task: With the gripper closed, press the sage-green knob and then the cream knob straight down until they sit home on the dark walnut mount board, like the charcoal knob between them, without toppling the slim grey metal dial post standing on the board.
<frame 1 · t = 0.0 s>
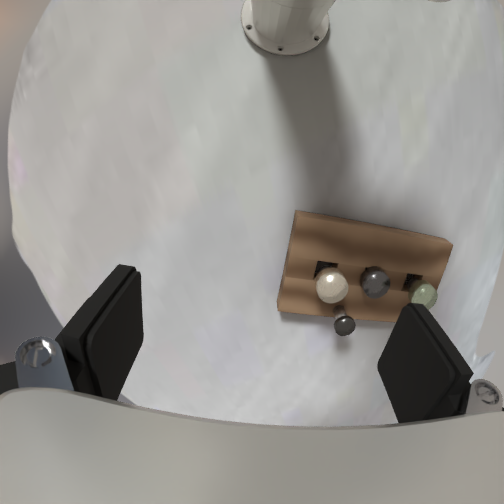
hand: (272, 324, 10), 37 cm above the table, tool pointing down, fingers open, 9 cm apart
knob sage: (419, 291, 45), point 6 cm above the table, slide at 0.0 cm
knob charcoal: (372, 278, 47), point 3 cm above the table, slide at -2.8 cm
mount: (366, 269, 50), on the table
knob cream: (329, 280, 44), point 6 cm above the table, slide at 0.0 cm
dial post: (338, 309, 49), point 3 cm above the table, touching mount
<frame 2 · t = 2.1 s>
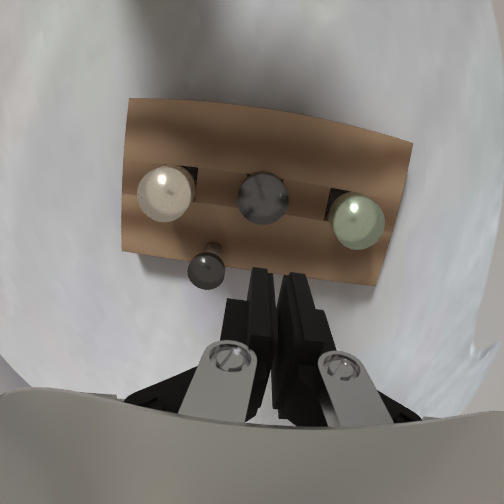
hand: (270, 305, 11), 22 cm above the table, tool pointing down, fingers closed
knob sage: (351, 215, 27), point 6 cm above the table, slide at 0.0 cm
knob charcoal: (262, 193, 29), point 3 cm above the table, slide at -2.8 cm
mount: (262, 187, 32), on the table
knob cream: (171, 188, 26), point 6 cm above the table, slide at 0.0 cm
dial post: (213, 251, 31), point 3 cm above the table, touching mount
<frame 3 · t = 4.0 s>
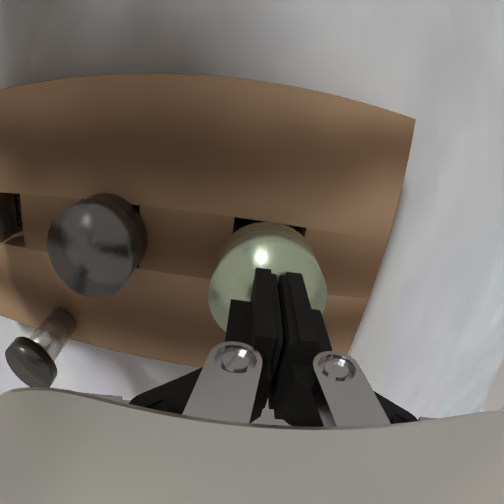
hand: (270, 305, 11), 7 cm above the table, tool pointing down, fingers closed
knob sage: (266, 268, 14), point 4 cm above the table, slide at -1.5 cm, touching gripper
knob charcoal: (108, 234, 15), point 3 cm above the table, slide at -2.8 cm
mount: (130, 216, 17), on the table
dial post: (64, 320, 17), point 3 cm above the table, touching mount
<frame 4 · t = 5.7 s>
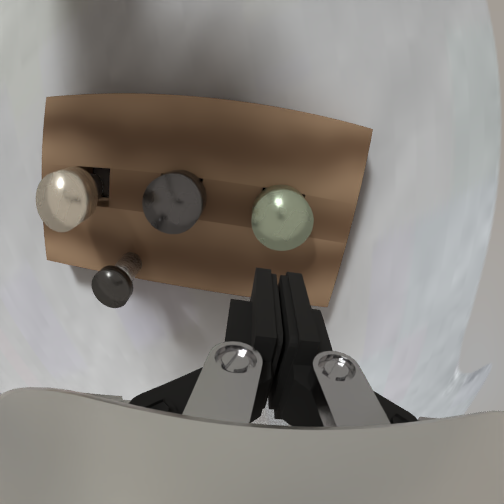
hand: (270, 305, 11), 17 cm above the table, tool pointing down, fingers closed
knob sage: (280, 211, 24), point 3 cm above the table, slide at -2.8 cm
knob charcoal: (179, 196, 24), point 3 cm above the table, slide at -2.8 cm
mount: (187, 189, 27), on the table
knob cream: (75, 194, 21), point 6 cm above the table, slide at 0.0 cm
dial post: (131, 262, 26), point 3 cm above the table, touching mount
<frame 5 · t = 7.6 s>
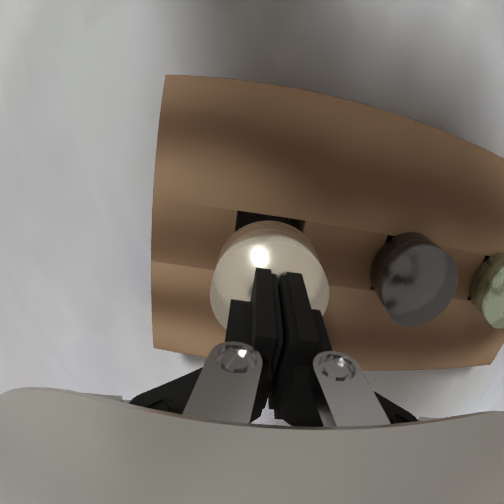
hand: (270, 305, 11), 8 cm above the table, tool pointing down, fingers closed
knob sage: (491, 280, 16), point 3 cm above the table, slide at -2.8 cm
knob charcoal: (404, 267, 16), point 3 cm above the table, slide at -2.8 cm
mount: (385, 247, 19), on the table
knob cream: (267, 267, 14), point 5 cm above the table, slide at -0.6 cm, touching gripper
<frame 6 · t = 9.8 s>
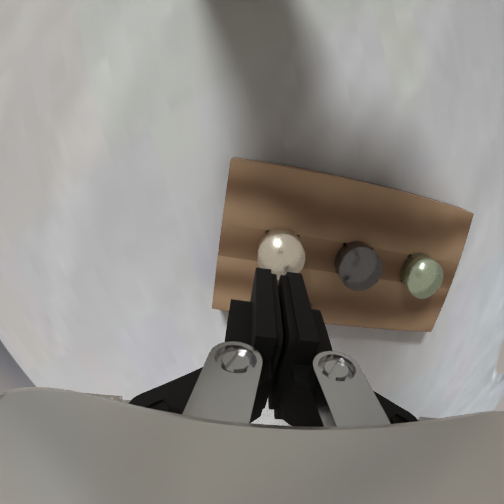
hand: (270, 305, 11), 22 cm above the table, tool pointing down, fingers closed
knob sage: (416, 270, 31), point 3 cm above the table, slide at -2.8 cm
knob charcoal: (354, 260, 31), point 3 cm above the table, slide at -2.8 cm
mount: (347, 250, 34), on the table
knob cream: (279, 248, 31), point 3 cm above the table, slide at -2.8 cm
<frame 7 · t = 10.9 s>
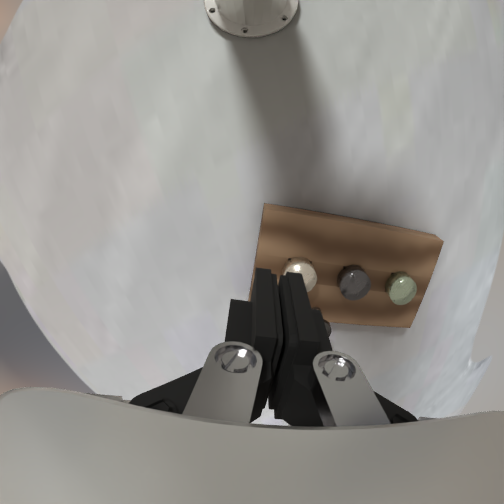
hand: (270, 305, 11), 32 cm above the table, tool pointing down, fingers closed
knob sage: (397, 283, 44), point 3 cm above the table, slide at -2.8 cm
knob charcoal: (351, 277, 43), point 3 cm above the table, slide at -2.8 cm
mount: (346, 268, 46), on the table
knob cream: (298, 270, 43), point 3 cm above the table, slide at -2.8 cm
dial post: (314, 312, 46), point 3 cm above the table, touching mount
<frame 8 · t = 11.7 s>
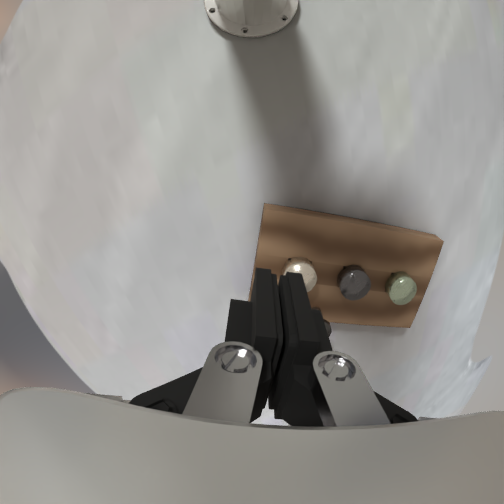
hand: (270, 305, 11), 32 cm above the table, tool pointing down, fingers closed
knob sage: (397, 283, 44), point 3 cm above the table, slide at -2.8 cm
knob charcoal: (351, 277, 43), point 3 cm above the table, slide at -2.8 cm
mount: (346, 268, 46), on the table
knob cream: (298, 270, 43), point 3 cm above the table, slide at -2.8 cm
dial post: (314, 312, 46), point 3 cm above the table, touching mount
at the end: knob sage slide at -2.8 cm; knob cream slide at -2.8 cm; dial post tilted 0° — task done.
